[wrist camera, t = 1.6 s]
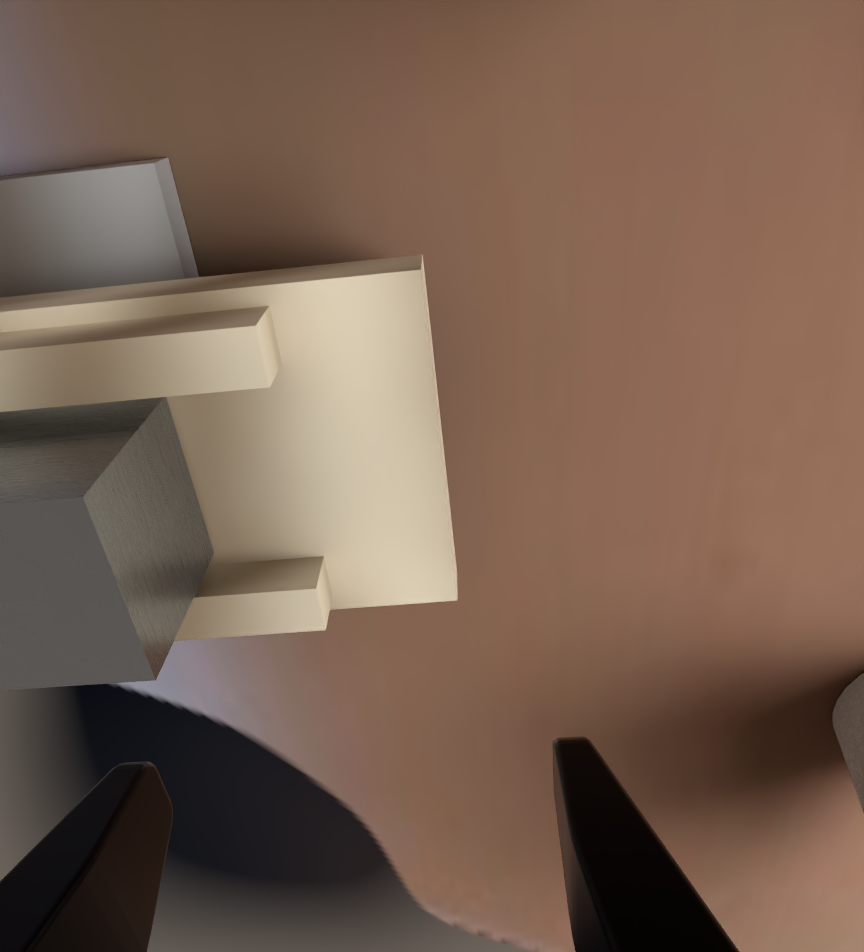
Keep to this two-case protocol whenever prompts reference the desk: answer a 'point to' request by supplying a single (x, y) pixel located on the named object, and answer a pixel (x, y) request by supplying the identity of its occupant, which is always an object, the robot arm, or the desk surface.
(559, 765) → the robot arm
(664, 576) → the desk surface
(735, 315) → the desk surface
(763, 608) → the desk surface
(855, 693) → the house plant
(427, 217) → the desk surface
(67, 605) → the block
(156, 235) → the balance beam
